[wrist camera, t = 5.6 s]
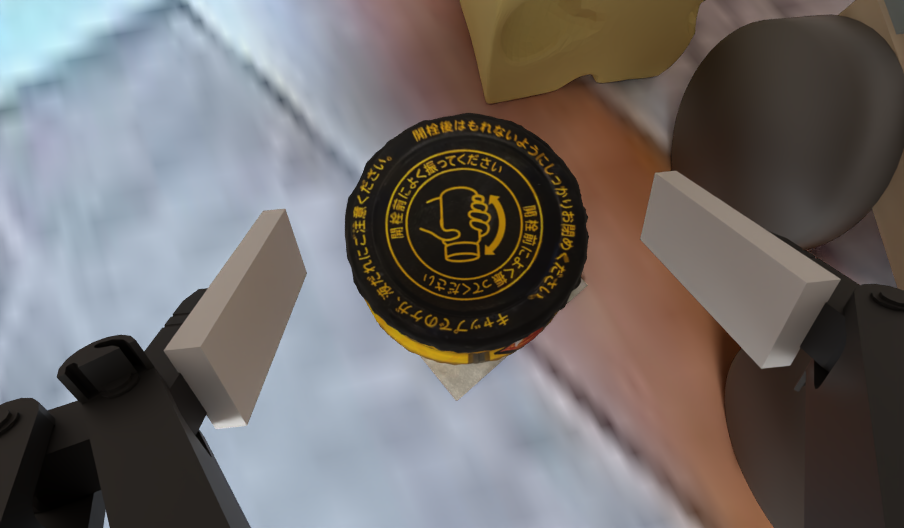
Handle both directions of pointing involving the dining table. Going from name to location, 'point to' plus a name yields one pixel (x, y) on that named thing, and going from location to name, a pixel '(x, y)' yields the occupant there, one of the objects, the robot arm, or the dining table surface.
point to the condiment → (466, 242)
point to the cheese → (573, 41)
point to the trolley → (797, 185)
